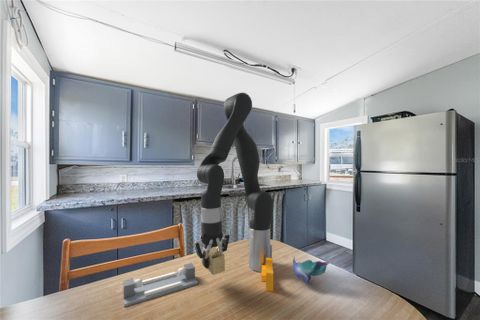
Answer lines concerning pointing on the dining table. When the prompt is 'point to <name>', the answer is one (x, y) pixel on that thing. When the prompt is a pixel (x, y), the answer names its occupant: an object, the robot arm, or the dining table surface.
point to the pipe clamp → (267, 274)
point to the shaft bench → (158, 285)
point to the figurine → (309, 269)
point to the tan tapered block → (215, 261)
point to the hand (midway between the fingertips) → (212, 265)
